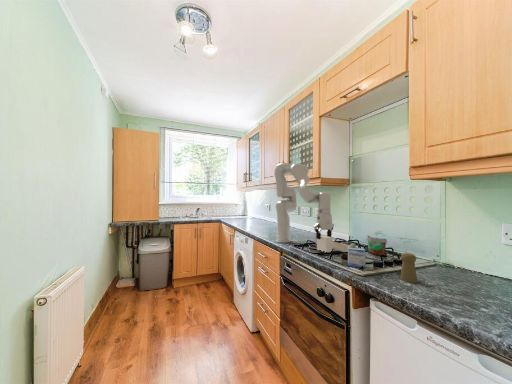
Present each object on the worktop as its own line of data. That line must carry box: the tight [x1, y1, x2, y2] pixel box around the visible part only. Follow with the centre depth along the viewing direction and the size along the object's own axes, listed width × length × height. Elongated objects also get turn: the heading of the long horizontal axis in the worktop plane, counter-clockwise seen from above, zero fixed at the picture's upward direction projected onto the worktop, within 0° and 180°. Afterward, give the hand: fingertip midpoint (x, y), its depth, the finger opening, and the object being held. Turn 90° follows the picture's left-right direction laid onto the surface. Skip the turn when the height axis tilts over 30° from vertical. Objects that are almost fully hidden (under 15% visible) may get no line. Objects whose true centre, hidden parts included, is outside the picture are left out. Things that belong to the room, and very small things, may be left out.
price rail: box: [315, 237, 356, 253], centre depth 147 cm, size 30×2×6 cm, turn 30°
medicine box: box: [347, 247, 366, 269], centre depth 112 cm, size 8×4×9 cm, turn 68°
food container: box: [365, 235, 388, 257], centre depth 134 cm, size 12×6×10 cm, turn 25°
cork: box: [399, 252, 418, 284], centre depth 93 cm, size 6×6×11 cm
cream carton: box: [316, 234, 333, 253], centre depth 143 cm, size 5×8×9 cm, turn 29°
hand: (323, 238), depth 143 cm, fingers open, 9 cm apart
